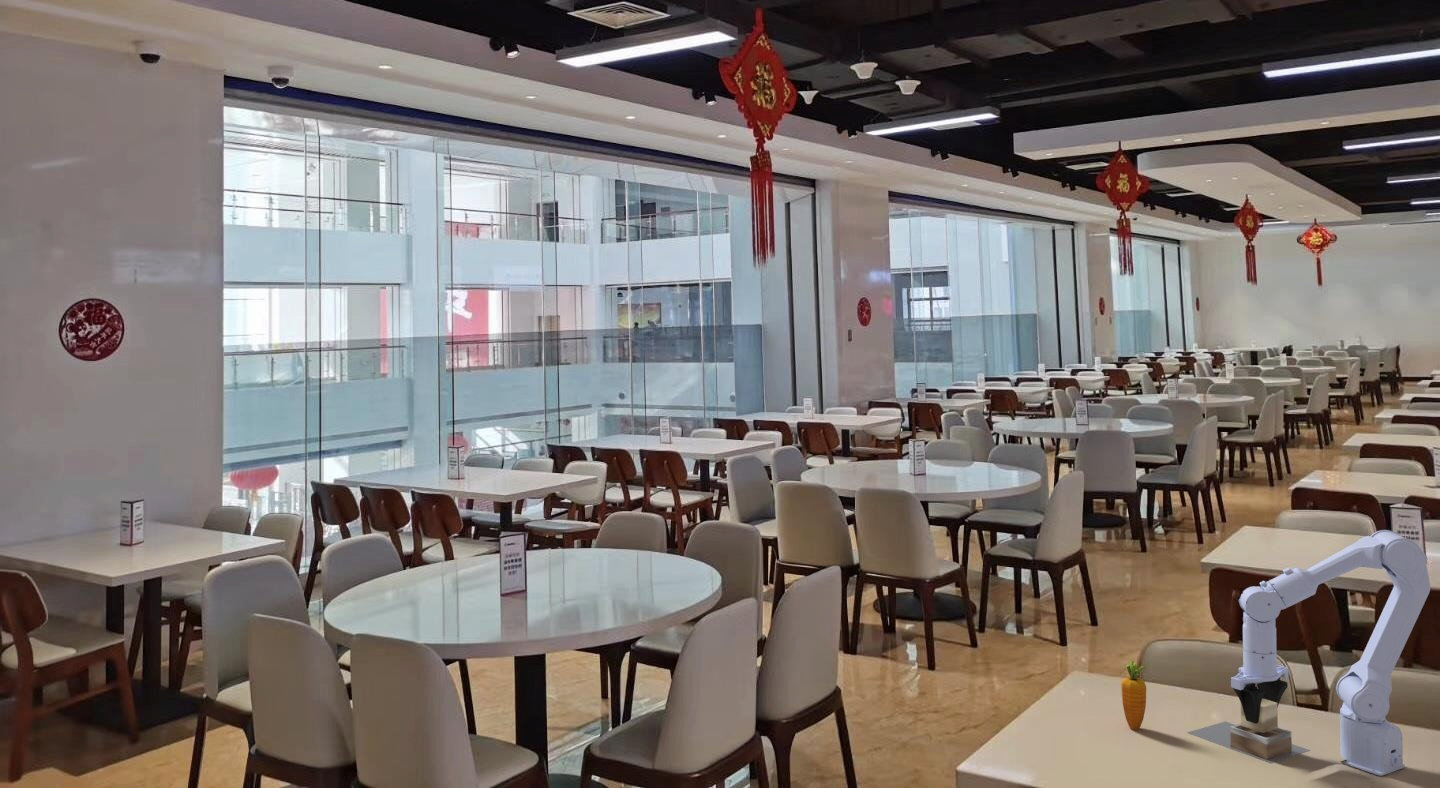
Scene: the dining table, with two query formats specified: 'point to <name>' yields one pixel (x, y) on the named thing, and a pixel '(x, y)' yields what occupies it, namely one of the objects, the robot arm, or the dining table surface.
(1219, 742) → the board
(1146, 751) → the dining table surface
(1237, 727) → the walnut plinth
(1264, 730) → the maple block
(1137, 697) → the carrot
